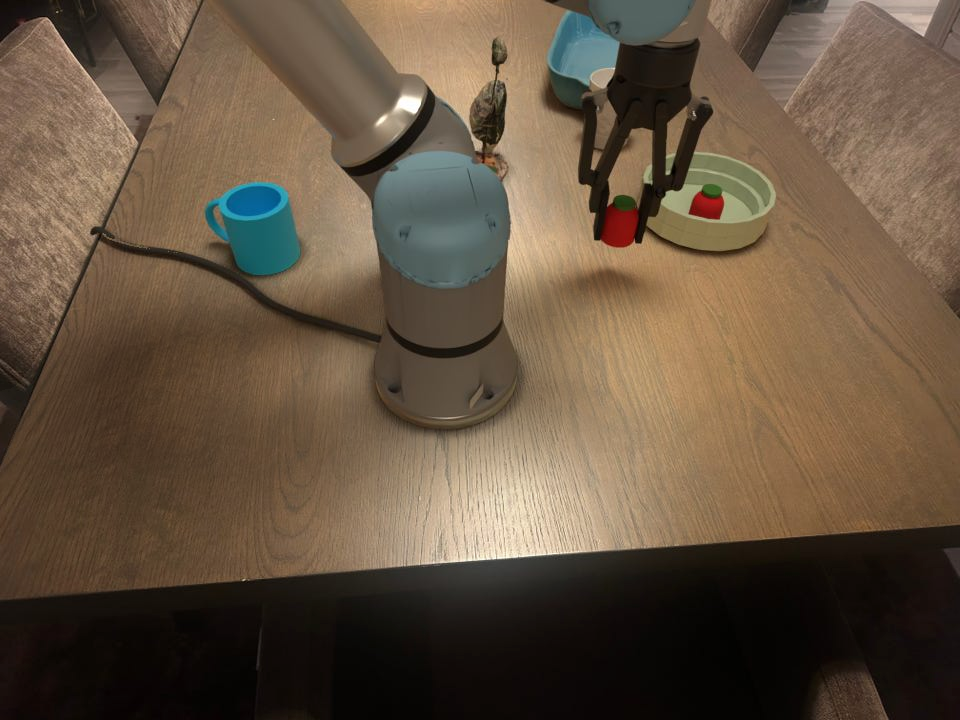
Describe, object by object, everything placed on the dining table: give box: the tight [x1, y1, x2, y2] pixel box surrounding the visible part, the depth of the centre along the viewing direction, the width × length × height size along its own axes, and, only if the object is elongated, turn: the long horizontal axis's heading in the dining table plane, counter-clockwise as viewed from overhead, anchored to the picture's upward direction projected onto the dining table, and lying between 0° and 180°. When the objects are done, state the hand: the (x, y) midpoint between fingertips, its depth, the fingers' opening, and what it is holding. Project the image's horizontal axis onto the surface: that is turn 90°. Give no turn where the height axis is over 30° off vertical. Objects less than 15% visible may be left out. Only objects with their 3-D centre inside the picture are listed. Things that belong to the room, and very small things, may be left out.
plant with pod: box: [468, 36, 510, 181], centre depth 95 cm, size 8×11×20 cm
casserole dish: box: [546, 10, 620, 111], centre depth 121 cm, size 37×22×7 cm, turn 168°
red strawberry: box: [600, 194, 639, 249], centre depth 79 cm, size 4×4×5 cm
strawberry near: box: [688, 184, 724, 220], centre depth 90 cm, size 4×4×5 cm
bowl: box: [636, 151, 777, 252], centre depth 92 cm, size 17×17×5 cm
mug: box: [204, 181, 301, 276], centre depth 84 cm, size 12×8×8 cm
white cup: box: [589, 68, 629, 151], centre depth 105 cm, size 8×8×10 cm
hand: (617, 235), depth 81 cm, fingers closed on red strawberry, 4 cm apart
